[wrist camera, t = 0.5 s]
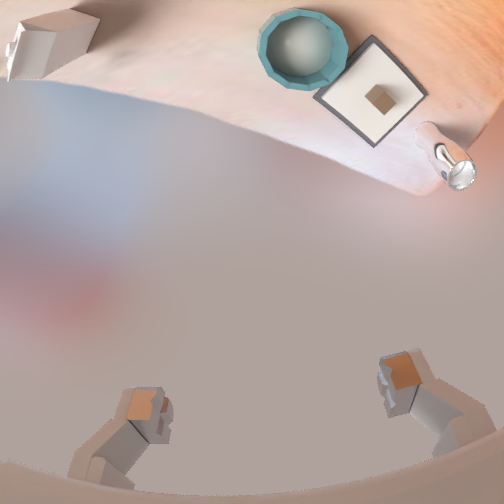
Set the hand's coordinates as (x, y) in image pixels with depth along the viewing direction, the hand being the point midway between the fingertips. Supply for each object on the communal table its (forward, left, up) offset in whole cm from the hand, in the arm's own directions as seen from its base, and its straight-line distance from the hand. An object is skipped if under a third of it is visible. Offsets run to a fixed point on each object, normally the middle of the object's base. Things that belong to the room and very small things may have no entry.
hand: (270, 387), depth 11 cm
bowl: (-7, +5, -50) cm, 51 cm away
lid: (-9, +21, -49) cm, 54 cm away
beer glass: (-11, +36, -50) cm, 62 cm away
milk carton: (+9, -29, -50) cm, 59 cm away
